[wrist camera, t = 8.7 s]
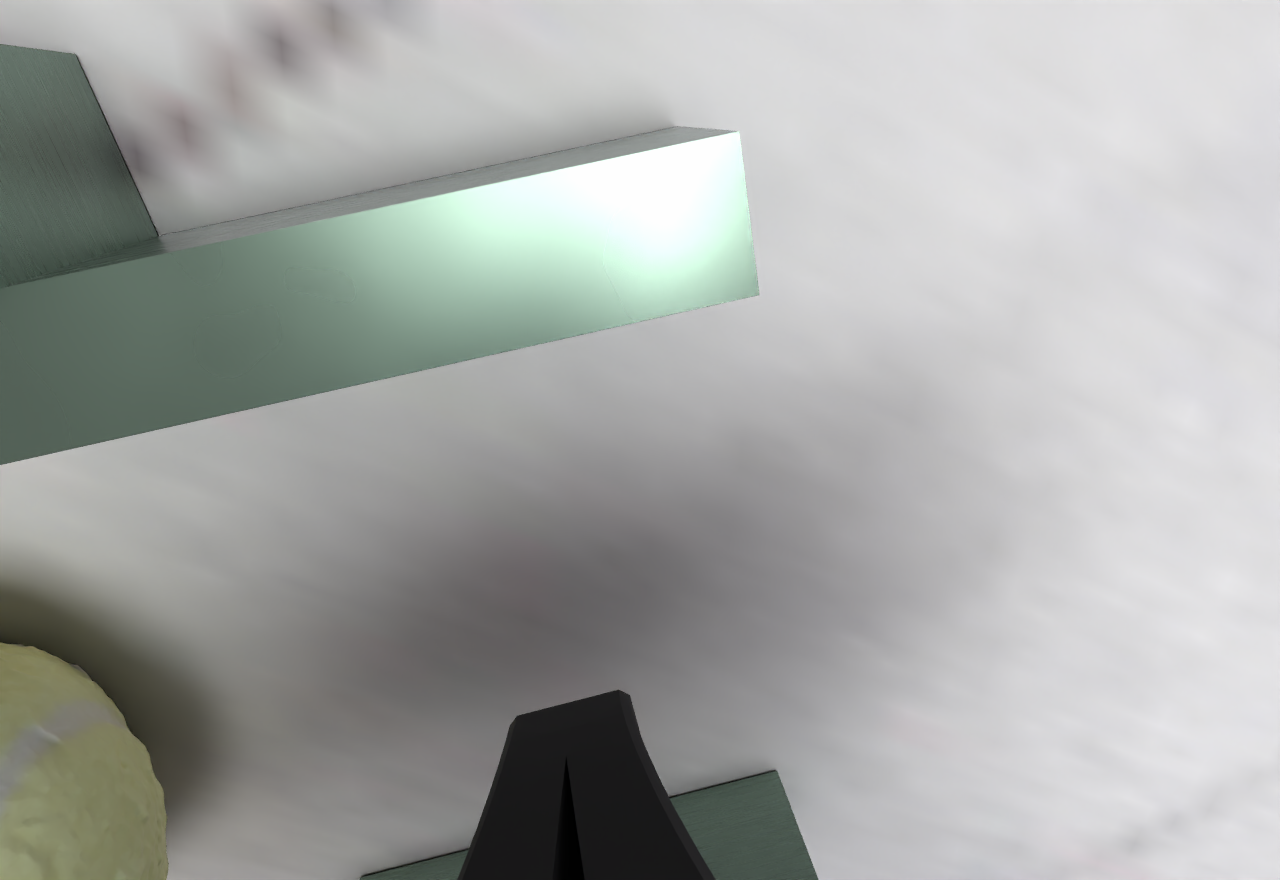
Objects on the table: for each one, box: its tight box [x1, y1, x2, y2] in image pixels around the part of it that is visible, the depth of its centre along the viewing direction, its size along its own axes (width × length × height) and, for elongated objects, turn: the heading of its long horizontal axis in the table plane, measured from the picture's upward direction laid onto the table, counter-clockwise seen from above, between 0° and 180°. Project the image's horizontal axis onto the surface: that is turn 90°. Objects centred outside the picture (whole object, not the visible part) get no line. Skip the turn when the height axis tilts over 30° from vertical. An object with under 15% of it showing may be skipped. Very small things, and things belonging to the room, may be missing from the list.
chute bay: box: [0, 44, 818, 880], centre depth 10 cm, size 17×20×4 cm
